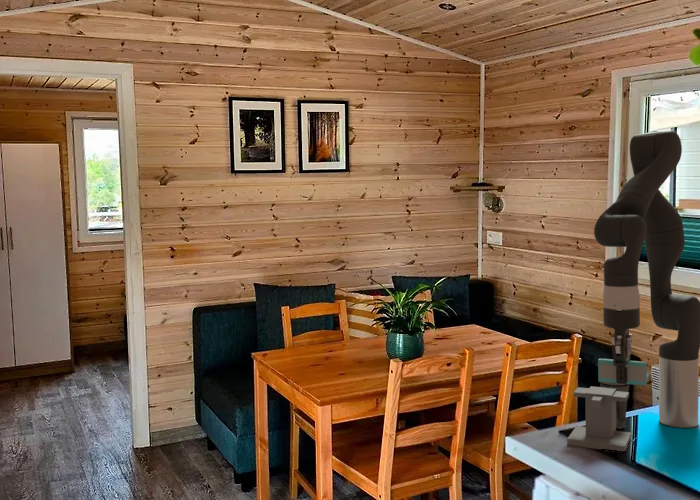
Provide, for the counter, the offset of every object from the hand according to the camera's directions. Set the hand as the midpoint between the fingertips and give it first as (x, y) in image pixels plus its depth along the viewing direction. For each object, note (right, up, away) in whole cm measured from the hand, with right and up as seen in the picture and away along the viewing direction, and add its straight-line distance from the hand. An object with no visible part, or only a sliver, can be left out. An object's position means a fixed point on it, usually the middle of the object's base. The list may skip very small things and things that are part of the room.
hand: (622, 382), depth 158 cm
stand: (0, -17, +13) cm, 21 cm away
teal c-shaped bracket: (+1, 0, +3) cm, 3 cm away
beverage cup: (+7, -16, +24) cm, 30 cm away
